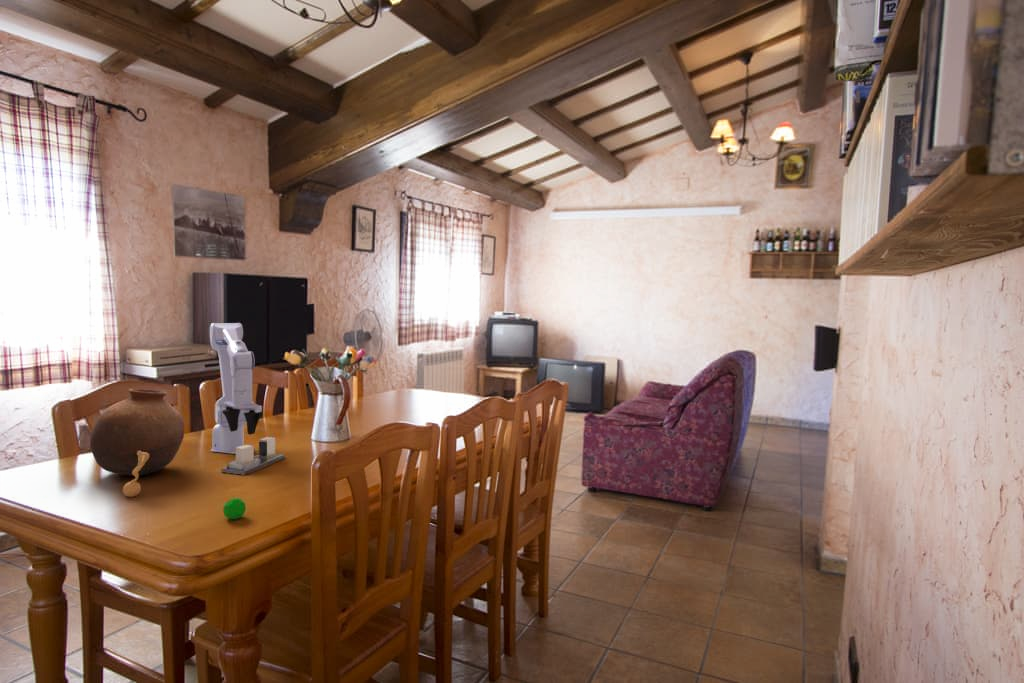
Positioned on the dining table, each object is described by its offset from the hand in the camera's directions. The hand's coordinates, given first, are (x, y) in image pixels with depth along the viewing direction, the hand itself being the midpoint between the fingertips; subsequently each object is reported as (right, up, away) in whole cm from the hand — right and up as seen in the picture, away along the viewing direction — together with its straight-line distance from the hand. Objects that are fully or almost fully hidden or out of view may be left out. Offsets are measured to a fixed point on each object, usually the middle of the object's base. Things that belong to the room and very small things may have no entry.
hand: (242, 432), depth 190 cm
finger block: (+4, -9, -7) cm, 12 cm away
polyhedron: (+19, -14, -46) cm, 52 cm away
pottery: (-24, -10, -14) cm, 29 cm away
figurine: (-13, -12, -33) cm, 38 cm away
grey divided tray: (+5, -10, -3) cm, 11 cm away
